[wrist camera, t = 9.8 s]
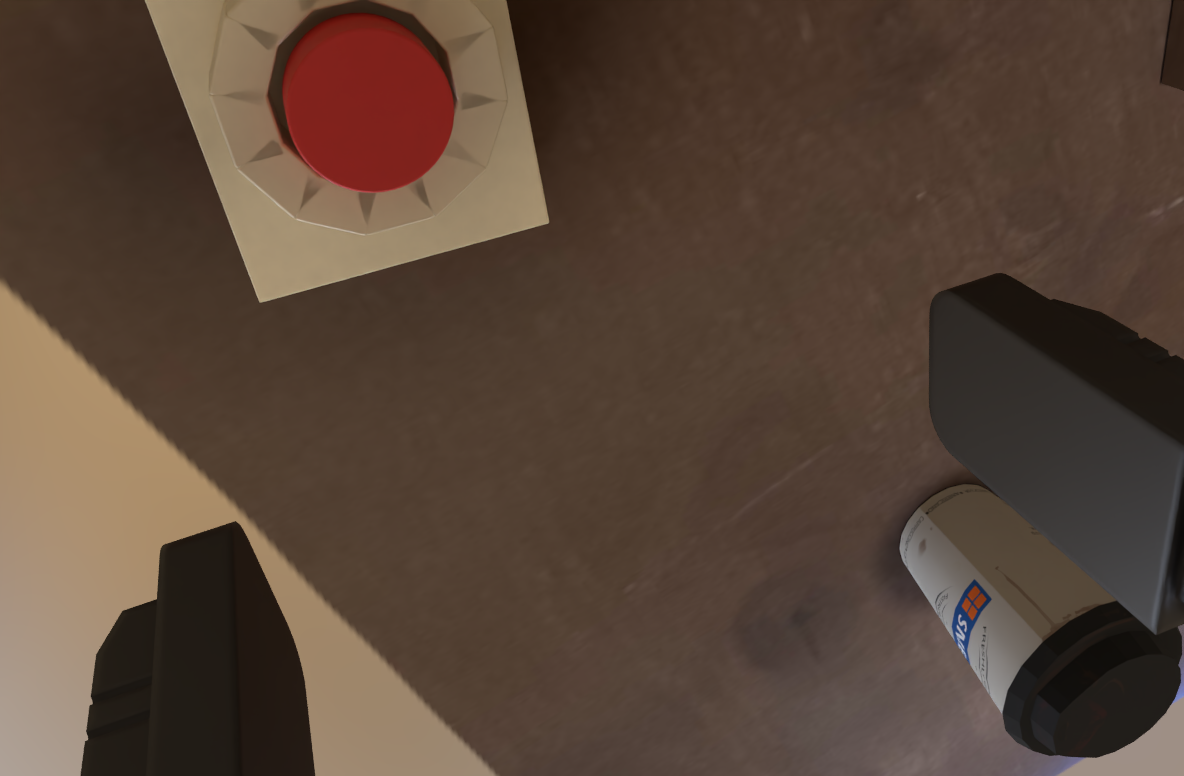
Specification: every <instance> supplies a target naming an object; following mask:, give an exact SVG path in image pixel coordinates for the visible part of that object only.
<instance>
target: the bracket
mask: <svg viewBox="0 0 1184 776" xmlns="http://www.w3.org/2000/svg"><path fill="white" fill-rule="evenodd" d="M1162 84H1165V85H1168V86H1171V87H1174V88H1177V89H1180V90H1183V91H1184V0H1173V6H1172V13H1171V20H1170V27H1169V34H1168V41H1167V47H1166V54H1165V61H1164V68H1163V75H1162Z"/></svg>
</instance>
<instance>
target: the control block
mask: <svg viewBox="0 0 1184 776" xmlns="http://www.w3.org/2000/svg"><path fill="white" fill-rule="evenodd" d="M145 2H146V4H147V7H148V10H149V12H150V15H151V18H152V20H153V23H154V26H155V28H156V31H157V33H158V36H159V39H160V41H161V44H162V47H163V49H164V52H165V55H166V57H167V60H168V62H169V65H170V68H171V70H172V73H173V76H174V78H175V81H176V84H177V86H178V89H179V91H180V94H181V97H182V99H183V102H184V105H185V107H186V110H187V113H188V115H189V118H190V120H191V123H192V126H193V128H194V131H195V134H196V136H197V139H198V142H199V144H200V147H201V149H202V152H203V155H204V157H205V160H206V163H207V165H208V168H209V171H210V173H211V176H212V178H213V181H214V184H215V186H216V189H217V192H218V194H219V197H220V200H221V202H222V205H223V207H224V210H225V213H226V215H227V218H228V221H229V223H230V226H231V229H232V231H233V234H234V236H235V239H236V242H237V244H238V247H239V250H240V252H241V255H242V258H243V260H244V263H245V265H246V268H247V271H248V273H249V276H250V279H251V281H252V284H253V287H254V289H255V292H256V294H257V297H258V300H259V302H265V301H269V300H272V299H276V298H280V297H283V296H287V295H290V294H294V293H298V292H301V291H305V290H309V289H312V288H316V287H319V286H323V285H327V284H330V283H334V282H338V281H341V280H345V279H348V278H352V277H356V276H359V275H363V274H366V273H370V272H374V271H377V270H381V269H385V268H388V267H392V266H395V265H399V264H403V263H406V262H410V261H414V260H417V259H421V258H424V257H428V256H432V255H435V254H439V253H443V252H446V251H450V250H453V249H457V248H461V247H464V246H468V245H472V244H475V243H479V242H482V241H486V240H490V239H493V238H497V237H500V236H504V235H508V234H511V233H515V232H519V231H522V230H526V229H529V228H533V227H537V226H540V225H544V224H548V223H549V217H548V212H547V207H546V202H545V197H544V192H543V187H542V181H541V176H540V171H539V166H538V161H537V156H536V151H535V145H534V140H533V135H532V130H531V125H530V120H529V115H528V110H527V104H526V99H525V94H524V89H523V84H522V79H521V74H520V68H519V63H518V58H517V53H516V48H515V43H514V38H513V32H512V27H511V22H510V17H509V12H508V7H507V2H506V0H145ZM348 13H371V14H376V15H380V16H384V17H387V18H389V19H392V20H394V21H396V22H398V23H400V24H402V25H403V26H405V27H406V28H407V29H409V30H410V31H412V32H413V33H414V34H415V35H416V36H417V37H418V38H419V39H420V40H421V41H422V43H423V44H424V45H425V46H426V48H427V49H428V50H429V51H430V53H431V54H432V55H433V57H434V58H435V59H436V61H437V62H438V63H439V65H440V66H441V68H442V70H443V71H444V73H445V75H446V77H447V80H448V82H449V85H450V88H451V91H452V96H453V102H454V122H453V128H452V132H451V136H450V139H449V142H448V144H447V146H446V148H445V150H444V152H443V154H442V155H441V157H440V158H439V160H438V161H437V162H436V163H435V165H434V166H433V167H432V168H431V169H430V170H429V171H428V172H427V173H425V174H424V175H423V176H422V177H420V178H419V179H417V180H416V181H414V182H412V183H410V184H408V185H406V186H404V187H401V188H398V189H395V190H391V191H386V192H377V193H367V192H358V191H352V190H349V189H346V188H342V187H340V186H338V185H336V184H333V183H331V182H330V181H328V180H326V179H325V178H323V177H322V176H320V175H319V174H318V173H317V172H315V171H314V170H313V169H312V168H311V167H310V166H309V165H308V164H307V163H306V161H305V160H304V159H303V157H302V156H301V155H300V153H299V152H298V150H297V148H296V146H295V145H294V142H293V140H292V137H291V135H290V132H289V128H288V124H287V119H286V114H285V109H284V104H283V96H282V81H283V75H284V70H285V67H286V63H287V61H288V58H289V56H290V54H291V52H292V50H293V49H294V47H295V46H296V44H297V43H298V42H299V40H300V39H301V38H302V37H303V36H304V35H305V34H306V33H307V32H308V31H309V30H311V29H312V28H313V27H315V26H316V25H318V24H319V23H321V22H323V21H325V20H327V19H329V18H332V17H335V16H338V15H342V14H348Z"/></svg>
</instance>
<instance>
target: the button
mask: <svg viewBox="0 0 1184 776" xmlns="http://www.w3.org/2000/svg"><path fill="white" fill-rule="evenodd" d="M282 96H283V104H284V109H285V114H286V119H287V124H288V128H289V132H290V135H291V137H292V140H293V142H294V145H295V146H296V148H297V150H298V152H299V153H300V155H301V156H302V157H303V159H304V160H305V161H306V163H307V164H308V165H309V166H310V167H311V168H312V169H313V170H314V171H315V172H317V173H318V174H319V175H320V176H322V177H323V178H325V179H326V180H328V181H330V182H331V183H333V184H336V185H338V186H340V187H342V188H346V189H349V190H352V191H358V192H367V193H377V192H386V191H391V190H395V189H398V188H401V187H404V186H406V185H408V184H410V183H412V182H414V181H416V180H417V179H419V178H420V177H422V176H423V175H424V174H425V173H427V172H428V171H429V170H430V169H431V168H432V167H433V166H434V165H435V163H436V162H437V161H438V160H439V158H440V157H441V155H442V154H443V152H444V150H445V148H446V146H447V144H448V142H449V139H450V136H451V132H452V128H453V122H454V102H453V96H452V91H451V88H450V85H449V82H448V80H447V77H446V75H445V73H444V71H443V70H442V68H441V66H440V65H439V63H438V62H437V61H436V59H435V58H434V57H433V55H432V54H431V53H430V51H429V50H428V49H427V48H426V46H425V45H424V44H423V43H422V41H421V40H420V39H419V38H418V37H417V36H416V35H415V34H414V33H413V32H412V31H410V30H409V29H407V28H406V27H405V26H403V25H402V24H400V23H398V22H396V21H394V20H392V19H389V18H387V17H384V16H380V15H376V14H371V13H348V14H342V15H338V16H335V17H332V18H329V19H327V20H325V21H323V22H321V23H319V24H318V25H316V26H315V27H313V28H312V29H311V30H309V31H308V32H307V33H306V34H305V35H304V36H303V37H302V38H301V39H300V40H299V42H298V43H297V44H296V46H295V47H294V49H293V50H292V52H291V54H290V56H289V58H288V61H287V63H286V67H285V70H284V75H283V81H282Z"/></svg>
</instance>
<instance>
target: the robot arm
mask: <svg viewBox="0 0 1184 776" xmlns="http://www.w3.org/2000/svg"><path fill="white" fill-rule="evenodd" d="M929 408H930V414H931V418H932V422H933V425H934V428H935V430H936V432H937V435H938V436H939V438H940V440H941V442H942V443H943V445H944V446H945V448H946V449H947V450H948V451H949V452H950V454H951V455H952V456H954V457H955V458H956V459H957V460H958V461H959V462H960V463H961V464H963V465H964V466H965V467H966V468H967V469H968V470H969V471H971V472H972V473H973V474H974V475H975V476H976V477H977V478H978V479H980V480H981V481H982V482H983V483H984V484H985V485H986V486H988V487H989V488H990V489H991V490H992V491H993V492H994V493H995V494H997V495H998V496H999V497H1000V498H1001V499H1002V500H1003V501H1005V502H1006V503H1007V504H1008V505H1009V506H1010V507H1011V508H1012V509H1014V510H1015V511H1016V512H1017V513H1018V514H1019V515H1020V516H1021V517H1023V518H1024V519H1025V520H1026V521H1027V522H1028V523H1029V524H1031V525H1032V526H1033V527H1034V528H1035V529H1036V530H1037V531H1038V532H1040V533H1041V534H1042V535H1043V536H1044V537H1045V538H1046V539H1048V540H1049V541H1050V542H1051V543H1052V544H1053V545H1054V546H1055V547H1057V548H1058V549H1059V550H1060V551H1061V552H1062V553H1063V554H1065V555H1066V556H1067V557H1068V558H1069V559H1070V560H1071V561H1072V562H1074V563H1075V564H1076V565H1077V566H1078V567H1079V568H1080V569H1082V570H1083V571H1084V572H1085V573H1086V574H1087V575H1088V576H1089V577H1091V578H1092V579H1093V580H1094V581H1095V582H1096V583H1097V584H1099V585H1100V586H1101V587H1102V588H1103V589H1104V590H1105V591H1106V592H1108V593H1109V594H1110V595H1111V596H1112V597H1113V598H1114V599H1116V600H1117V601H1118V602H1119V603H1120V604H1121V605H1122V606H1123V607H1125V608H1126V609H1127V610H1128V611H1129V612H1130V613H1131V614H1132V615H1134V616H1135V617H1136V618H1137V619H1138V620H1139V621H1140V622H1142V623H1143V624H1144V625H1145V626H1146V627H1147V628H1148V629H1149V630H1151V631H1152V632H1153V633H1154V634H1155V635H1158V634H1160V633H1163V632H1165V631H1168V630H1170V629H1172V628H1175V627H1177V626H1180V625H1182V624H1184V360H1183V359H1182V358H1180V357H1178V356H1176V355H1175V356H1172V357H1170V355H1169V354H1168V350H1166V349H1164V348H1163V347H1161V346H1159V345H1157V344H1156V343H1154V342H1152V341H1150V340H1149V339H1147V338H1143V339H1140V338H1139V336H1138V333H1137V332H1135V331H1133V330H1131V329H1130V328H1128V327H1126V326H1124V325H1123V324H1121V323H1119V322H1117V321H1116V320H1114V319H1112V318H1110V317H1109V316H1107V315H1105V314H1103V313H1102V312H1099V311H1095V310H1091V309H1088V308H1084V307H1081V306H1077V305H1074V304H1070V303H1066V302H1063V301H1059V300H1056V299H1053V300H1049V299H1048V298H1046V297H1044V296H1043V295H1041V294H1039V293H1038V292H1036V291H1034V290H1032V289H1031V288H1029V287H1027V286H1026V285H1024V284H1022V283H1021V282H1019V281H1017V280H1016V279H1014V278H1012V277H1011V276H1009V275H1006V274H1003V273H996V274H993V275H990V276H987V277H984V278H981V279H978V280H975V281H972V282H969V283H965V284H962V285H959V286H956V287H953V288H950V289H947V290H944V291H941V292H939V293H938V294H936V295H935V297H934V298H933V300H932V303H931V307H930V320H929ZM91 698H92V701H93V704H92V705H90V707H89V715H88V723H87V730H86V732H87V735H88V740H87V741H85V746H84V754H83V761H82V769H81V776H315V770H314V761H313V752H312V743H311V733H310V725H309V715H308V707H307V697H306V689H305V681H304V676H303V671H302V667H301V662H300V658H299V655H298V651H297V648H296V645H295V643H294V639H293V636H292V634H291V631H290V629H289V627H288V624H287V622H286V620H285V618H284V616H283V614H282V611H281V609H280V607H279V605H278V603H277V600H276V598H275V596H274V594H273V592H272V590H271V588H270V585H269V583H268V581H267V579H266V577H265V575H264V572H263V570H262V568H261V566H260V564H259V562H258V559H257V557H256V555H255V553H254V551H253V549H252V547H251V545H250V542H249V540H248V538H247V536H246V534H245V533H244V531H243V529H242V527H241V526H240V525H239V524H238V523H237V522H236V521H235V522H232V523H229V524H226V525H223V526H220V527H217V528H214V529H210V530H207V531H204V532H201V533H198V534H195V535H192V536H189V537H186V538H183V539H180V540H177V541H174V542H171V543H168V544H165V545H163V546H162V548H161V550H160V560H159V576H158V592H157V599H156V600H153V601H151V602H147V603H144V604H142V605H139V606H136V607H133V608H130V609H127V610H124V611H122V613H121V615H120V616H119V618H118V620H117V621H116V623H115V625H114V626H113V628H112V629H111V631H110V633H109V634H108V636H107V638H106V639H105V641H104V643H103V644H102V646H101V648H100V649H99V651H98V653H97V654H96V661H95V669H94V676H93V684H92V693H91Z"/></svg>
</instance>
